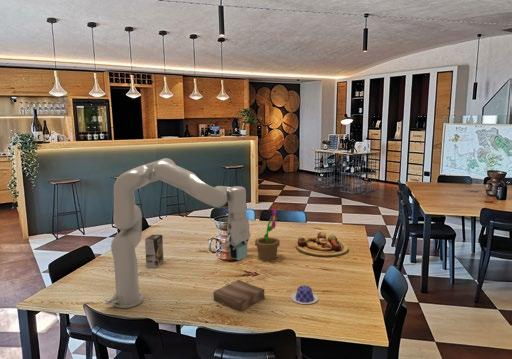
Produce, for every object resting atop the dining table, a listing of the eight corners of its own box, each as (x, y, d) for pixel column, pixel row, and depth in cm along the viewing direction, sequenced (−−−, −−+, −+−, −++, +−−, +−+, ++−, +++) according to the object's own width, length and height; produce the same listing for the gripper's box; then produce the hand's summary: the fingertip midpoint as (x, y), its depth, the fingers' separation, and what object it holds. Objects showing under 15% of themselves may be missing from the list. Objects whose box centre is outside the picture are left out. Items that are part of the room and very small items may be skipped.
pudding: (286, 296, 171) (286, 285, 170) (309, 291, 176) (309, 280, 175) (299, 307, 160) (299, 296, 159) (323, 302, 165) (323, 290, 164)
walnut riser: (239, 311, 157) (239, 302, 156) (213, 300, 167) (213, 291, 166) (264, 297, 169) (264, 289, 168) (238, 287, 179) (238, 279, 178)
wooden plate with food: (292, 255, 221) (292, 242, 220) (299, 238, 252) (299, 226, 251) (348, 261, 214) (349, 247, 213) (348, 242, 245) (349, 230, 243)
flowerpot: (276, 264, 208) (275, 211, 204) (251, 261, 213) (250, 209, 208) (282, 255, 222) (282, 205, 217) (259, 252, 226) (259, 203, 222)
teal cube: (238, 260, 161) (238, 247, 160) (229, 257, 165) (229, 245, 164) (247, 256, 165) (247, 244, 164) (238, 253, 169) (238, 242, 168)
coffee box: (156, 268, 204) (155, 239, 202) (146, 267, 206) (144, 238, 203) (164, 262, 213) (162, 234, 211) (153, 261, 214) (152, 233, 212)
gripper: (229, 220, 153) (230, 263, 156) (257, 212, 166) (257, 252, 169) (216, 218, 158) (218, 259, 161) (244, 210, 171) (245, 248, 174)
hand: (238, 255), depth 165 cm, fingers closed on teal cube, 5 cm apart
